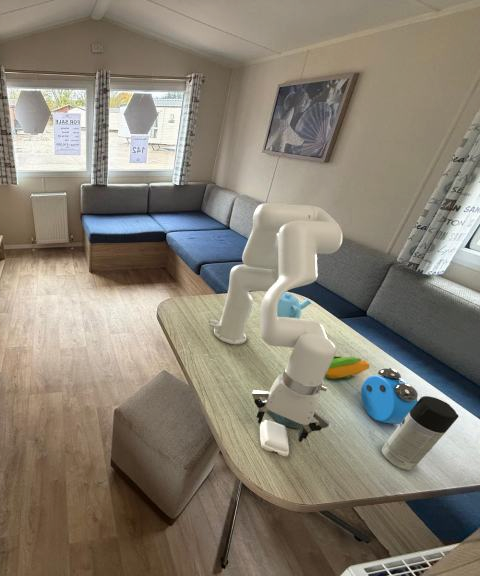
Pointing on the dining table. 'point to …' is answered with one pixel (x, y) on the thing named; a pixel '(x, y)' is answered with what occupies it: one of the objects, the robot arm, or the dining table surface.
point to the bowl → (285, 420)
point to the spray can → (419, 432)
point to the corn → (345, 367)
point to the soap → (274, 437)
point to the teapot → (290, 306)
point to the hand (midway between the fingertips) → (279, 428)
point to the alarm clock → (388, 397)
